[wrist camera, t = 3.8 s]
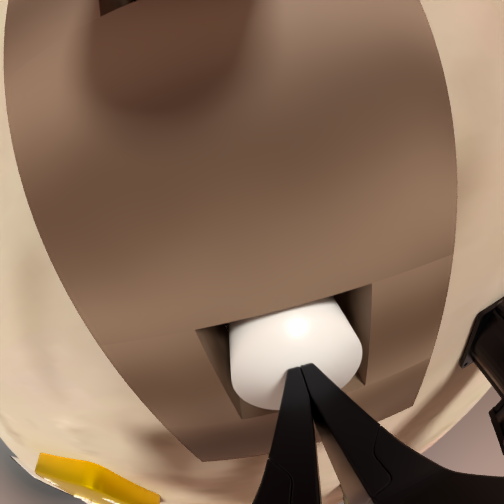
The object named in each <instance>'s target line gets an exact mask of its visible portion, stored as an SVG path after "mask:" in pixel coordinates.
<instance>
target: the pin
mask: <svg viewBox="0 0 504 504" xmlns="http://www.w3.org/2000/svg"><path fill="white" fill-rule="evenodd" d="M229 346H230V366H231V381H232V385H233V388H234V390H235V392H236V393H237V394H238V395H239V396H240V398H242V399H243V400H244V401H246V402H248V403H249V404H251V405H254V406H257V407H260V408H264V409H270V410H279V409H280V404H281V399H282V395H283V390H284V385H285V379H286V374H287V370H288V369H290V368H294V367H297V366H299V367H301V366H302V365H305V364H308V363H313V364H315V365H316V366H317V367H318V368H319V369H320V370H321V371H322V372H323V373H324V374H325V375H326V376H327V377H328V378H329V379H331V380H332V381H333V382H334V383H335V384H336V385H337V386H338V387H339V388H340V389H341V388H343V387H344V386H345V385H346V384H347V383H348V382H349V381H350V380H351V379H352V377H353V376H354V375H355V373H356V372H357V370H358V368H359V366H360V363H361V360H362V346H361V343H360V341H359V339H358V337H357V335H356V334H355V332H354V330H353V329H352V327H351V325H350V324H349V322H348V320H347V319H346V317H345V315H344V314H343V312H342V310H341V309H340V307H339V305H338V304H337V302H336V300H335V299H334V297H333V296H329V297H326V298H322V299H319V300H315V301H312V302H308V303H305V304H301V305H297V306H294V307H290V308H286V309H282V310H278V311H275V312H271V313H267V314H263V315H259V316H254V317H250V318H246V319H242V320H238V321H233V322H229Z"/></svg>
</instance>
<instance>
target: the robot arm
mask: <svg viewBox="0 0 504 504" xmlns="http://www.w3.org/2000/svg"><path fill="white" fill-rule="evenodd" d="M472 362H474V363H475V364H476V366H477V367H478V368H479V369H480V371H481V372H482V373H483V374H484V376H485V377H486V378H487V380H488V381H489V382H490V383H491V385H492V386H493V387H494V389H495V390H496V391H497V393H498V394H499V395H500V397H501V398H502V399H501V401H500V402H499V403H498V404H497V405H496V406H495V407H493V408H492V409H491V410H490V411H489V415H490V417H491V422H492V424H493V427H494V430H495V432H496V435H497V438H498V441H499V444H500V447H501V450H502V453H503V455H504V297H503V298H502V299H500V300H499V301H497V302H496V303H494V304H493V305H491V306H490V307H488V308H487V309H485V310H483V311H482V312H481V313H480V314H479V315H478V317H477V320H476V323H475V326H474V329H473V332H472V335H471V337H470V340H469V343H468V345H467V348H466V350H465V353H464V355H463V358H462V360H461V362H460V367H461V368H462V369H463V368H465V367H466V366H468V365H469V364H471V363H472ZM314 424H315V426H316V429H317V431H318V433H319V436H320V438H321V440H322V443H323V445H324V447H325V449H326V452H327V454H328V456H329V459H330V461H331V463H332V465H333V468H334V470H335V472H336V475H337V477H338V479H339V481H340V484H341V486H342V488H343V490H344V493H345V495H346V497H347V499H348V502H349V504H504V477H497V476H485V475H475V474H467V473H460V472H455V471H452V470H449V469H446V468H444V467H442V466H440V465H438V464H437V463H435V462H433V461H431V460H430V459H428V458H426V457H424V456H423V455H421V454H419V453H418V452H416V451H414V450H413V449H411V448H410V447H408V446H407V445H405V444H404V443H402V442H401V441H400V440H398V439H397V438H396V437H394V436H393V435H392V434H391V433H389V432H388V431H387V430H386V429H385V428H384V427H383V426H380V424H379V423H378V422H377V421H376V420H374V419H373V418H372V417H371V416H370V415H369V414H368V413H367V412H365V411H364V410H363V409H362V408H361V407H360V406H359V405H358V404H357V403H355V402H354V401H353V400H352V399H351V398H350V397H349V396H348V395H347V394H346V393H345V392H343V391H342V390H341V389H340V388H339V387H338V386H337V385H336V384H335V383H334V382H333V381H332V380H331V379H329V378H328V377H327V376H326V375H325V374H324V373H323V372H322V371H321V370H320V369H319V368H318V367H317V366H316V365H315V364H313V363H308V364H305V365H302V366H301V367H299V366H297V367H294V368H290V369H288V370H287V374H286V379H285V385H284V390H283V395H282V399H281V404H280V409H279V414H278V418H277V423H276V427H275V431H274V436H273V440H272V444H271V448H270V452H269V457H268V458H269V459H268V460H267V464H266V468H265V471H264V475H263V478H262V481H261V484H260V487H259V489H258V492H257V494H256V496H255V499H254V501H253V503H252V504H322V500H321V488H320V476H319V466H318V456H317V446H316V437H315V429H314Z"/></svg>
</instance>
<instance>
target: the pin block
mask: <svg viewBox="0 0 504 504" xmlns="http://www.w3.org/2000/svg"><path fill="white" fill-rule="evenodd" d="M4 83H5V96H6V106H7V114H8V121H9V128H10V134H11V139H12V144H13V149H14V154H15V158H16V162H17V166H18V170H19V174H20V178H21V181H22V185H23V188H24V191H25V195H26V198H27V201H28V204H29V207H30V210H31V213H32V215H33V218H34V221H35V224H36V226H37V229H38V231H39V234H40V236H41V239H42V241H43V244H44V246H45V248H46V251H47V253H48V255H49V257H50V260H51V262H52V264H53V266H54V268H55V270H56V272H57V274H58V276H59V278H60V280H61V282H62V284H63V286H64V288H65V290H66V292H67V294H68V295H69V297H70V299H71V301H72V303H73V304H74V306H75V308H76V310H77V311H78V313H79V315H80V316H81V318H82V320H83V321H84V323H85V325H86V326H87V328H88V329H89V331H90V333H91V334H92V336H93V337H94V339H95V340H96V342H97V343H98V345H99V346H100V348H101V349H102V351H103V352H104V353H105V355H106V356H107V358H108V359H109V360H110V362H111V363H112V365H113V366H114V367H115V369H116V370H117V371H118V373H119V374H120V375H121V376H122V378H123V379H124V380H125V382H126V383H127V384H128V385H129V387H130V388H131V389H132V390H133V391H134V393H135V394H136V395H137V396H138V397H139V399H140V400H141V401H142V402H143V403H144V404H145V405H146V407H147V408H148V409H149V410H150V411H151V412H152V413H153V414H154V415H155V417H156V418H157V419H158V420H159V421H160V422H161V423H162V424H163V425H164V426H165V427H166V428H167V429H168V430H169V431H170V432H171V433H172V434H173V435H174V436H175V437H176V438H177V439H178V440H179V441H180V442H181V443H182V444H183V445H184V446H185V447H186V448H187V449H189V450H190V451H191V452H192V453H193V454H194V455H195V456H196V457H197V458H199V459H200V460H201V461H202V462H205V461H218V460H228V459H237V458H245V457H251V456H258V455H264V454H269V452H270V448H271V444H272V440H273V436H274V431H275V427H276V423H277V418H278V414H279V410H270V409H264V408H260V407H257V406H254V405H251V404H249V403H248V402H246V401H244V400H243V399H242V398H240V396H239V395H238V394H237V393H236V392H235V390H234V388H233V385H232V381H231V366H230V346H229V335H228V332H227V330H226V327H225V324H224V323H229V322H233V321H238V320H242V319H246V318H250V317H254V316H259V315H263V314H267V313H271V312H275V311H278V310H282V309H286V308H290V307H294V306H297V305H301V304H305V303H308V302H312V301H315V300H319V299H322V298H326V297H329V296H332V295H333V297H334V299H335V300H336V302H337V304H338V305H339V307H340V309H341V310H342V312H343V314H344V315H345V317H346V319H347V320H348V322H349V324H350V325H351V327H352V329H353V330H354V332H355V334H356V335H357V337H358V339H359V341H360V343H361V346H362V360H361V363H360V366H359V368H358V370H357V372H356V373H355V375H354V376H353V377H352V379H351V380H350V381H349V382H348V383H347V384H346V385H345V386H344V387H343V388H341V390H342V391H343V392H345V393H346V394H347V395H348V396H349V397H350V398H351V399H352V400H353V401H354V402H355V403H357V404H358V405H359V406H360V407H361V408H362V409H363V410H364V411H365V412H367V413H368V414H369V415H370V416H371V417H372V418H373V419H374V420H376V421H377V422H378V421H380V420H383V419H385V418H387V417H390V416H392V415H394V414H396V413H398V412H401V411H403V410H405V409H407V408H409V407H411V406H413V404H414V402H415V399H416V397H417V394H418V392H419V389H420V387H421V384H422V381H423V379H424V376H425V373H426V370H427V367H428V365H429V362H430V358H431V355H432V352H433V349H434V346H435V342H436V339H437V335H438V331H439V327H440V324H441V319H442V315H443V311H444V306H445V302H446V297H447V292H448V286H449V280H450V274H451V268H452V260H453V252H454V243H455V231H456V215H457V164H456V148H455V137H454V128H453V120H452V113H451V107H450V101H449V96H448V90H447V86H446V81H445V77H444V72H443V68H442V64H441V61H440V57H439V53H438V50H437V47H436V43H435V40H434V37H433V34H432V31H431V28H430V26H429V23H428V20H427V17H426V15H425V12H424V10H423V7H422V5H421V3H420V0H138V1H135V2H133V0H8V7H7V14H6V23H5V36H4ZM314 429H315V437H316V443H317V442H320V441H322V440H321V438H320V436H319V433H318V431H317V429H316V426H315V424H314Z"/></svg>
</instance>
